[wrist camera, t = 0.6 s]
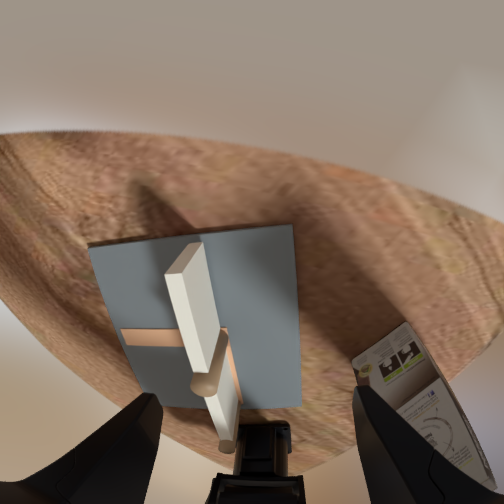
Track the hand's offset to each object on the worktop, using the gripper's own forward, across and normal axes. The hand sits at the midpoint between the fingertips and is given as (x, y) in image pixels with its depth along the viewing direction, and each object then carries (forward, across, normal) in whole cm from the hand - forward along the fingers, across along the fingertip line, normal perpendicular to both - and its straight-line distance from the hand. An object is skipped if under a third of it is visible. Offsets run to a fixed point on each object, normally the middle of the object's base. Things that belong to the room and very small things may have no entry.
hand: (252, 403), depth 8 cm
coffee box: (+13, -12, +12) cm, 22 cm away
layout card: (+13, +6, +7) cm, 16 cm away
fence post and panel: (+13, +4, +10) cm, 17 cm away
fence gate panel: (+12, +4, +2) cm, 13 cm away
